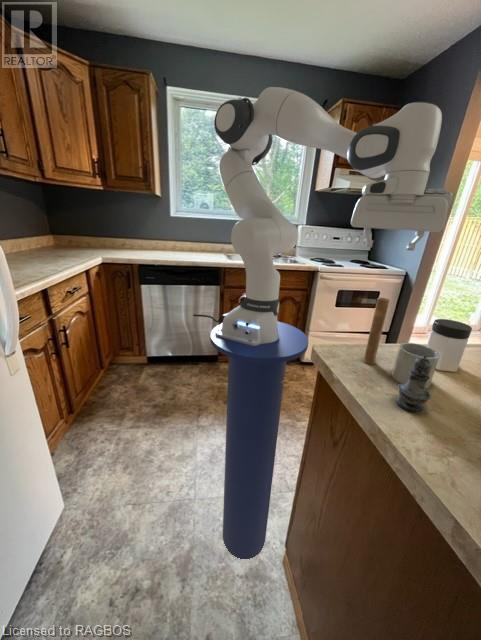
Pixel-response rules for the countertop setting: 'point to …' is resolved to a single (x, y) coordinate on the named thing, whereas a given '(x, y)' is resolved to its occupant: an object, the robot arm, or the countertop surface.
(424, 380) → the grey stone figurine
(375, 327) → the stick
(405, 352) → the tin
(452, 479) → the countertop surface
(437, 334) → the jar
